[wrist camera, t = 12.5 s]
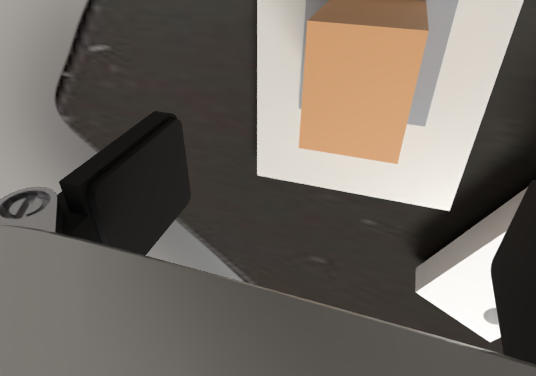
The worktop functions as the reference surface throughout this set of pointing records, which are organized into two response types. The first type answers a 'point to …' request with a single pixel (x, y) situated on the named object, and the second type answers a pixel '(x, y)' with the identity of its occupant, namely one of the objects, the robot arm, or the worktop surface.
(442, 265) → the bracket
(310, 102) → the block
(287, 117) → the plate
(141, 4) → the worktop surface
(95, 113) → the worktop surface
